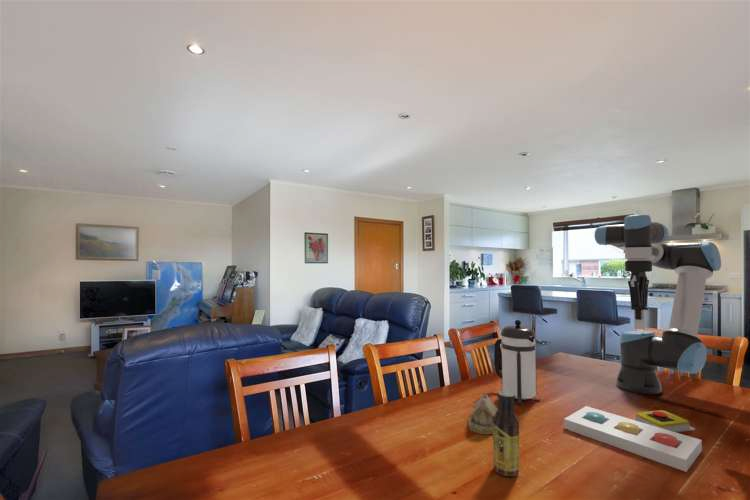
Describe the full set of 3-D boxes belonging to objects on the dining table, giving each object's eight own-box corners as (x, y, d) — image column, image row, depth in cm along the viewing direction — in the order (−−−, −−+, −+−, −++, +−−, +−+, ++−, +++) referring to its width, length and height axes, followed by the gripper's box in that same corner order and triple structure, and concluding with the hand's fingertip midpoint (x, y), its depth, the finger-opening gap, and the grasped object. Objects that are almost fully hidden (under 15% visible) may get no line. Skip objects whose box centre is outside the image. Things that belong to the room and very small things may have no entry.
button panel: (586, 414, 125) (586, 406, 125) (701, 450, 101) (701, 440, 101) (564, 428, 115) (564, 418, 115) (686, 471, 91) (685, 459, 92)
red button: (658, 443, 105) (657, 431, 105) (680, 450, 101) (679, 437, 101) (652, 449, 102) (652, 436, 102) (674, 456, 98) (674, 443, 98)
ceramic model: (471, 414, 127) (470, 385, 127) (505, 419, 122) (504, 389, 123) (463, 431, 114) (463, 399, 114) (501, 438, 109) (501, 405, 110)
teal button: (590, 421, 119) (590, 410, 119) (607, 427, 115) (607, 415, 115) (583, 425, 116) (583, 414, 116) (601, 431, 112) (600, 420, 112)
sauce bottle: (489, 464, 95) (488, 388, 96) (512, 463, 96) (511, 387, 96) (500, 480, 89) (498, 397, 89) (524, 478, 89) (523, 396, 90)
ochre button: (622, 431, 112) (621, 420, 112) (641, 438, 108) (641, 426, 108) (615, 436, 109) (615, 424, 109) (635, 443, 105) (635, 431, 105)
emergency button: (630, 409, 120) (667, 405, 123) (630, 422, 120) (667, 418, 123) (657, 421, 111) (696, 417, 114) (657, 436, 111) (697, 431, 114)
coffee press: (540, 393, 145) (539, 317, 146) (540, 408, 131) (538, 324, 131) (495, 387, 152) (493, 315, 153) (490, 400, 138) (488, 321, 139)
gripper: (632, 259, 132) (633, 325, 132) (618, 260, 124) (620, 329, 124) (657, 259, 126) (659, 328, 126) (644, 260, 118) (646, 333, 118)
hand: (639, 328), depth 125 cm, fingers closed
